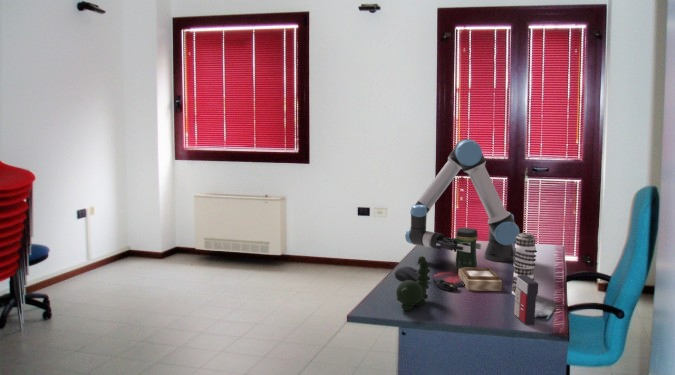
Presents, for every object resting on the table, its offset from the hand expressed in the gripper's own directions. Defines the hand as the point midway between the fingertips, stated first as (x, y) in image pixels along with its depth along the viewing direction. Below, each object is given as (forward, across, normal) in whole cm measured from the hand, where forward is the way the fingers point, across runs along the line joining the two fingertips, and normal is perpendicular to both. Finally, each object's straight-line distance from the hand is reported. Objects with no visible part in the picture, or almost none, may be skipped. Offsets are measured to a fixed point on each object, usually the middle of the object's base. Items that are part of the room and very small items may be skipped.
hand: (475, 248), depth 289 cm
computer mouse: (-6, +30, -12) cm, 33 cm away
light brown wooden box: (+11, +13, -12) cm, 21 cm away
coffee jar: (-5, 0, -10) cm, 11 cm away
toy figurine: (+10, +59, -12) cm, 61 cm away
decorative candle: (+31, +13, -12) cm, 35 cm away
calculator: (+47, +42, -12) cm, 64 cm away
